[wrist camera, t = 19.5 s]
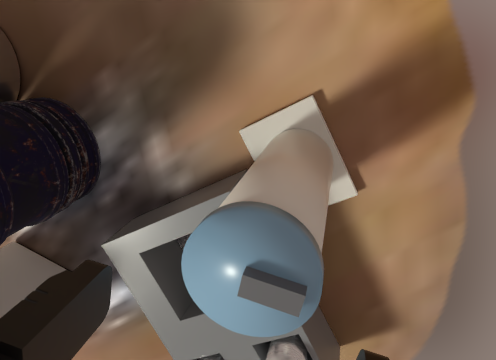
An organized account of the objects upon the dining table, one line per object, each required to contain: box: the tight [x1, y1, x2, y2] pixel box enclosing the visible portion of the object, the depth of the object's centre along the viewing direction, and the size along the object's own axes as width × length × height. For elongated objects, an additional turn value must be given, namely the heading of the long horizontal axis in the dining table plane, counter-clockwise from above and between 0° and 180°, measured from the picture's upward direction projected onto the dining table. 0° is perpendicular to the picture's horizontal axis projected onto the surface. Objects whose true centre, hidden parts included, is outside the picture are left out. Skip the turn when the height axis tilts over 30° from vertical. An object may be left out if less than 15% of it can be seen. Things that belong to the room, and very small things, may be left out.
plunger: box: [266, 334, 308, 360], centre depth 31 cm, size 3×3×6 cm
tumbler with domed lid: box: [181, 129, 334, 337], centre depth 21 cm, size 6×6×16 cm
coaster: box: [239, 95, 358, 206], centre depth 29 cm, size 8×6×1 cm
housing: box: [101, 169, 340, 360], centre depth 32 cm, size 18×12×5 cm, turn 28°
